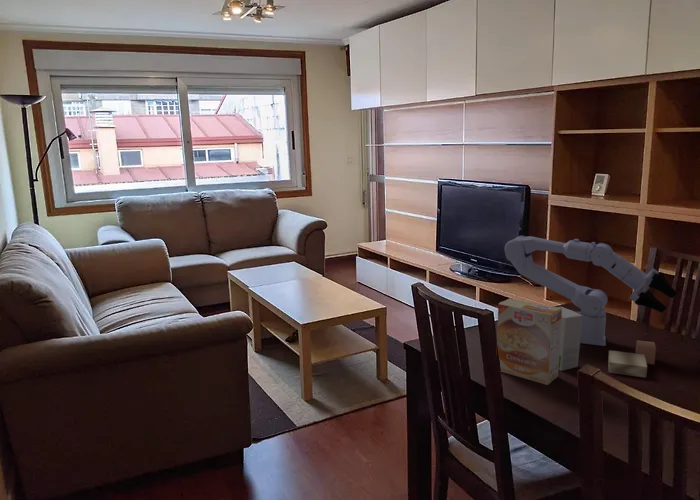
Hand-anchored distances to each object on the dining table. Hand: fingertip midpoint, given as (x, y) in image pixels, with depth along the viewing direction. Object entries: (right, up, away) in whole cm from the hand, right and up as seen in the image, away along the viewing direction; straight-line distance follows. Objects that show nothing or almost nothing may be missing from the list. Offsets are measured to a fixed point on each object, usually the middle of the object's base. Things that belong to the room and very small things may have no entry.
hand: (669, 303), depth 156 cm
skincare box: (-32, -17, -2) cm, 37 cm away
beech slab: (-16, -18, -6) cm, 24 cm away
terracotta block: (-8, -16, -1) cm, 18 cm away
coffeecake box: (-44, -19, -8) cm, 48 cm away
